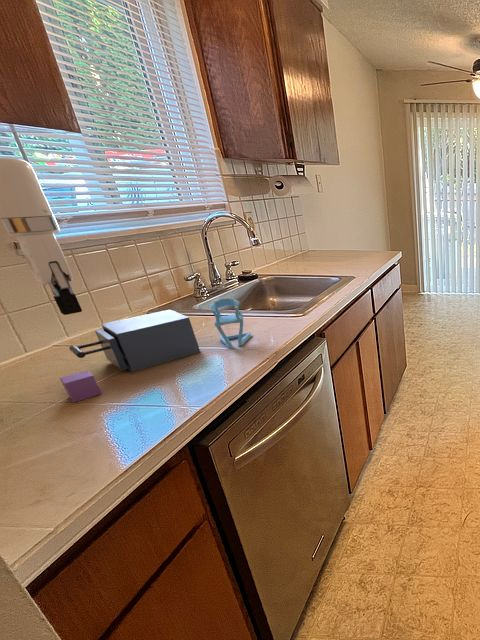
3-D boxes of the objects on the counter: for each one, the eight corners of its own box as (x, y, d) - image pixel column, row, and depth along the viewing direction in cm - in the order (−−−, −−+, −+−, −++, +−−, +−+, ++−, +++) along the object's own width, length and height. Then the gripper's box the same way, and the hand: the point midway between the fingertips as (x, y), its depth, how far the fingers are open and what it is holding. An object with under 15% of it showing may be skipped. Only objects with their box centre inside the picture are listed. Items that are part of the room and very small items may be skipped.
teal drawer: (89, 379, 89) (74, 347, 86) (76, 367, 95) (62, 337, 92) (186, 351, 103) (176, 323, 100) (169, 342, 109) (159, 315, 106)
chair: (219, 350, 106) (205, 306, 101) (220, 340, 113) (208, 299, 108) (251, 344, 110) (240, 302, 105) (251, 335, 116) (240, 295, 111)
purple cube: (74, 402, 82) (64, 383, 80) (68, 396, 84) (59, 377, 82) (101, 393, 85) (93, 375, 83) (95, 388, 87) (87, 370, 85)
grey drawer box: (132, 371, 95) (116, 334, 91) (116, 359, 102) (100, 324, 98) (200, 351, 105) (188, 317, 101) (181, 342, 112) (170, 309, 108)
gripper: (-1, 226, 82) (41, 311, 90) (11, 230, 74) (56, 323, 82) (49, 223, 88) (85, 303, 95) (65, 226, 80) (103, 314, 87)
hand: (72, 312), depth 88 cm, fingers closed
